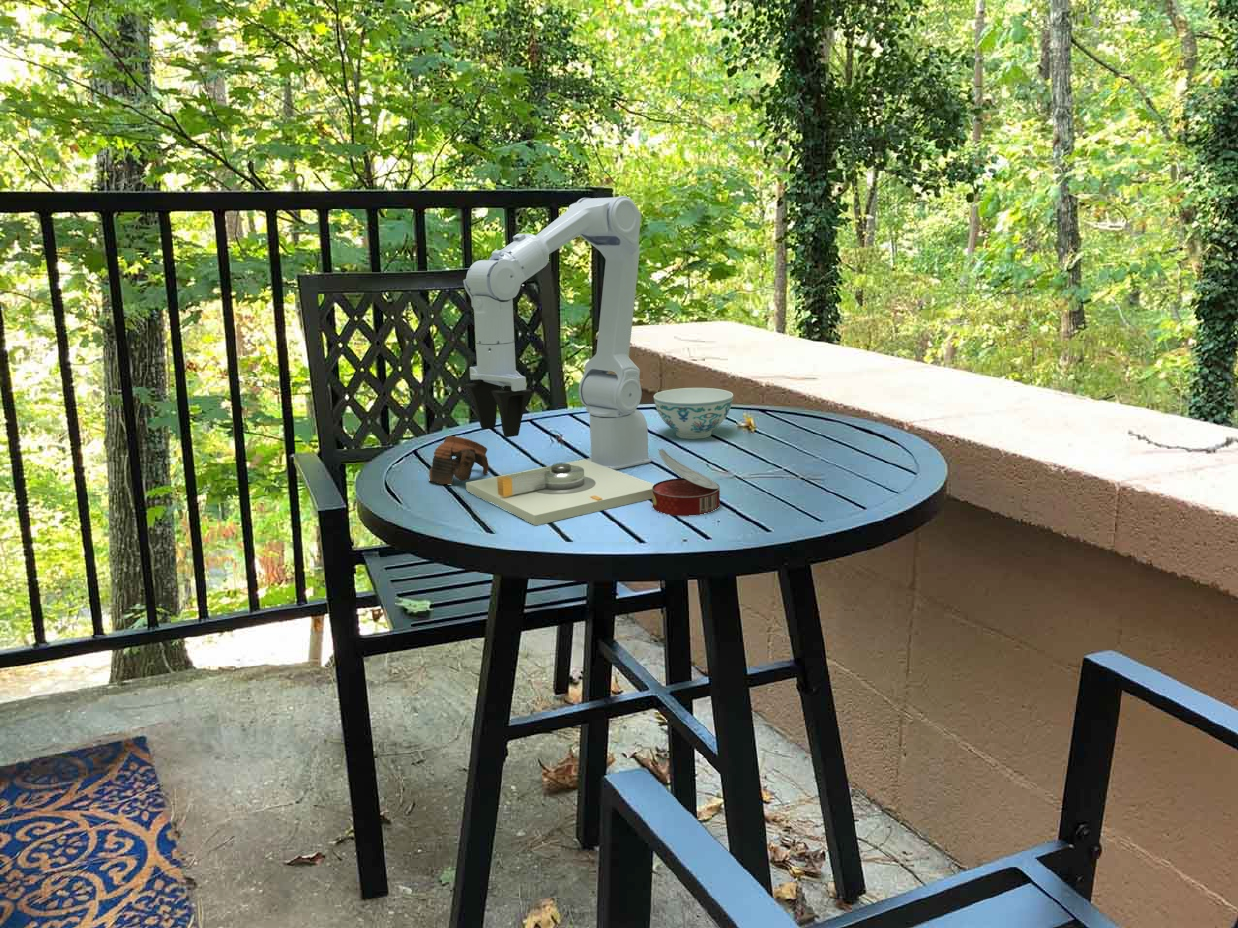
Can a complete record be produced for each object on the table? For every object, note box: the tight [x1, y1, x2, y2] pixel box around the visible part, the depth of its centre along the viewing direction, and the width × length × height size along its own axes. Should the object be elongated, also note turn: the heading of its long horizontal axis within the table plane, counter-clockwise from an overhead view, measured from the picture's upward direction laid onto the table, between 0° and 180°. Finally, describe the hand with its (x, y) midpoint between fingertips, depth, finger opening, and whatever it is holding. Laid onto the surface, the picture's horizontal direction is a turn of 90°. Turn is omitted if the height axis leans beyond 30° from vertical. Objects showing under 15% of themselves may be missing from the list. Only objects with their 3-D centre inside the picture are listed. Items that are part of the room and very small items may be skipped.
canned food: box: [652, 448, 721, 517], centre depth 144 cm, size 11×10×10 cm
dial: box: [496, 462, 584, 497], centre depth 149 cm, size 14×7×3 cm, turn 124°
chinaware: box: [653, 387, 734, 440], centre depth 187 cm, size 15×15×8 cm
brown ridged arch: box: [428, 435, 489, 485], centre depth 161 cm, size 12×10×8 cm
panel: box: [465, 458, 656, 526], centre depth 152 cm, size 22×22×2 cm
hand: (499, 431), depth 149 cm, fingers open, 7 cm apart
